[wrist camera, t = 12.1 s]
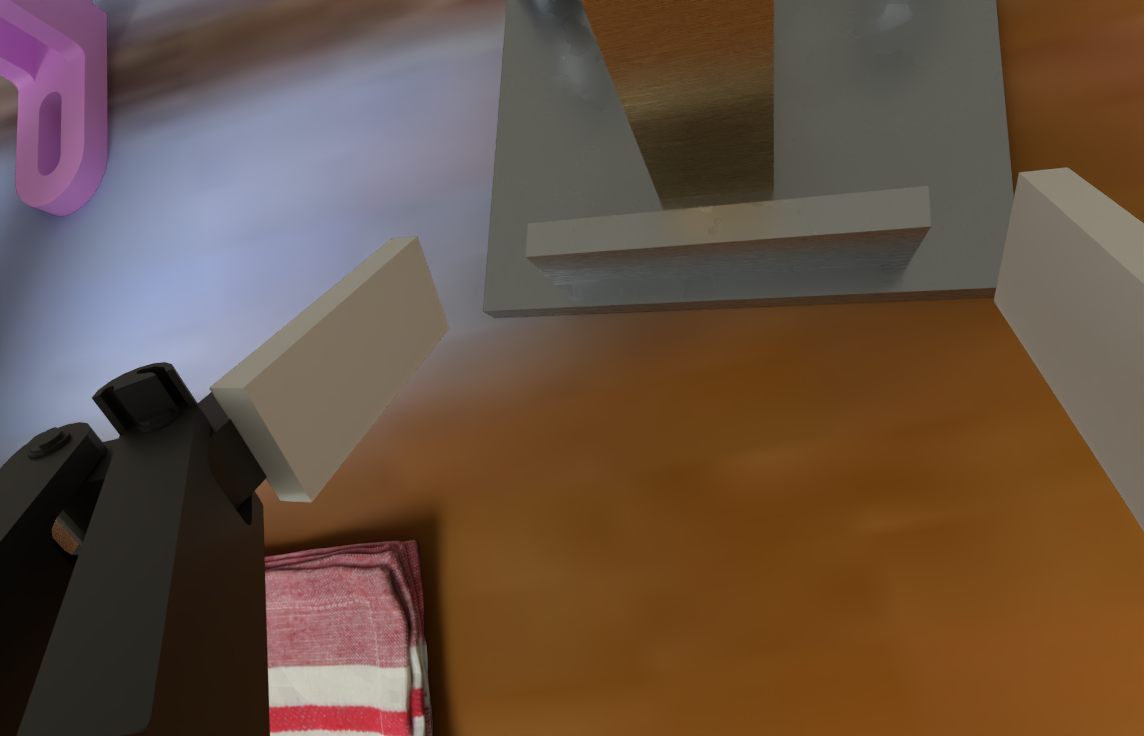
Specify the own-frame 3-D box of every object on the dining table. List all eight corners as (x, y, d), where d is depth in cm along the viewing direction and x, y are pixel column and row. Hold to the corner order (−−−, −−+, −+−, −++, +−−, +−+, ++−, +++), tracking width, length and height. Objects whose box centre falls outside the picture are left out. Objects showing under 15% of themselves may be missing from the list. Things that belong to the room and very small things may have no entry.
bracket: (45, 51, 39) (-100, -36, 33) (109, 15, 38) (-30, -84, 31) (41, 229, 36) (-122, 172, 29) (110, 197, 34) (-46, 129, 28)
